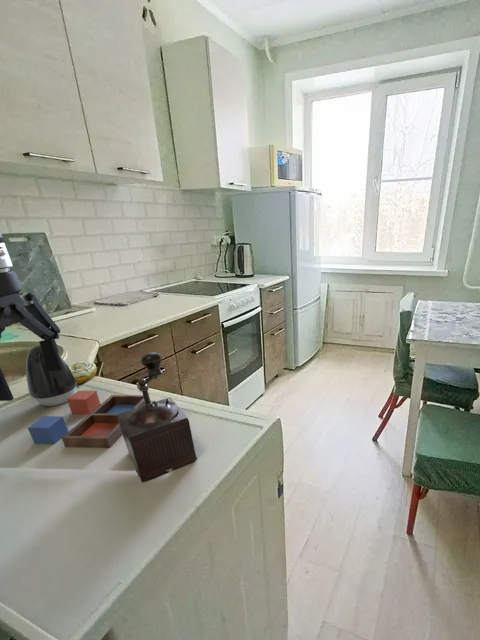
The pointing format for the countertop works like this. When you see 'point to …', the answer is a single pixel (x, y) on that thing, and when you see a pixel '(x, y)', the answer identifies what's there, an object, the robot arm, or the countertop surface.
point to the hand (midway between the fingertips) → (33, 383)
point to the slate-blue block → (48, 430)
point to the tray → (100, 424)
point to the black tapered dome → (48, 379)
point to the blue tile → (120, 409)
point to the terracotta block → (83, 402)
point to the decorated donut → (83, 371)
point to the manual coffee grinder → (156, 430)
